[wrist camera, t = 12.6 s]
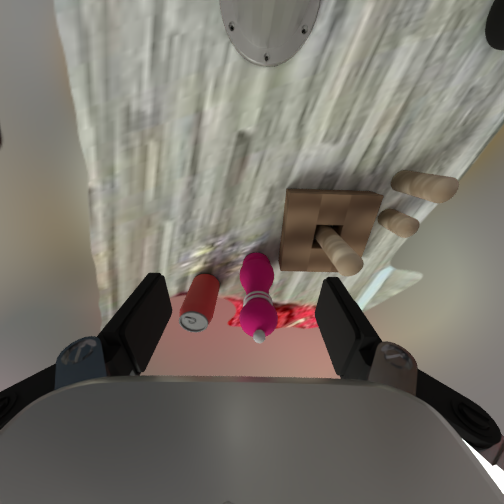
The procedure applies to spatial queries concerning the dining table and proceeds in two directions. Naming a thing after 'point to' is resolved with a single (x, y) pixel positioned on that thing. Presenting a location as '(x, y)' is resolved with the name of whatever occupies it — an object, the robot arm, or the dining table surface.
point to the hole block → (324, 213)
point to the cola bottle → (495, 25)
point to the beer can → (199, 303)
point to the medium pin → (425, 185)
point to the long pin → (338, 251)
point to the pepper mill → (257, 297)
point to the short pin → (398, 222)
